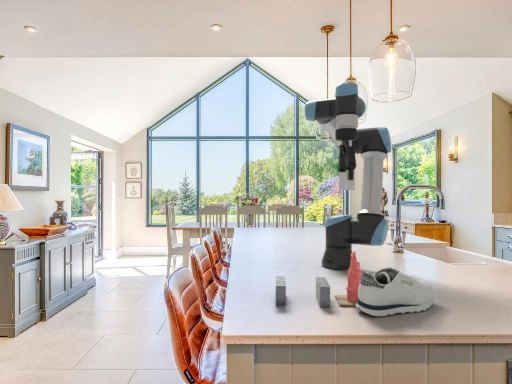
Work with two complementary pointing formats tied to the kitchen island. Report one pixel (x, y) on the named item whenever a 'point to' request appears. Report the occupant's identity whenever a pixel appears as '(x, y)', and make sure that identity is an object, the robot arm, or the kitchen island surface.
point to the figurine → (353, 279)
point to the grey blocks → (321, 291)
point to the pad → (344, 301)
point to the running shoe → (392, 293)
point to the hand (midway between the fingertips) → (346, 190)
